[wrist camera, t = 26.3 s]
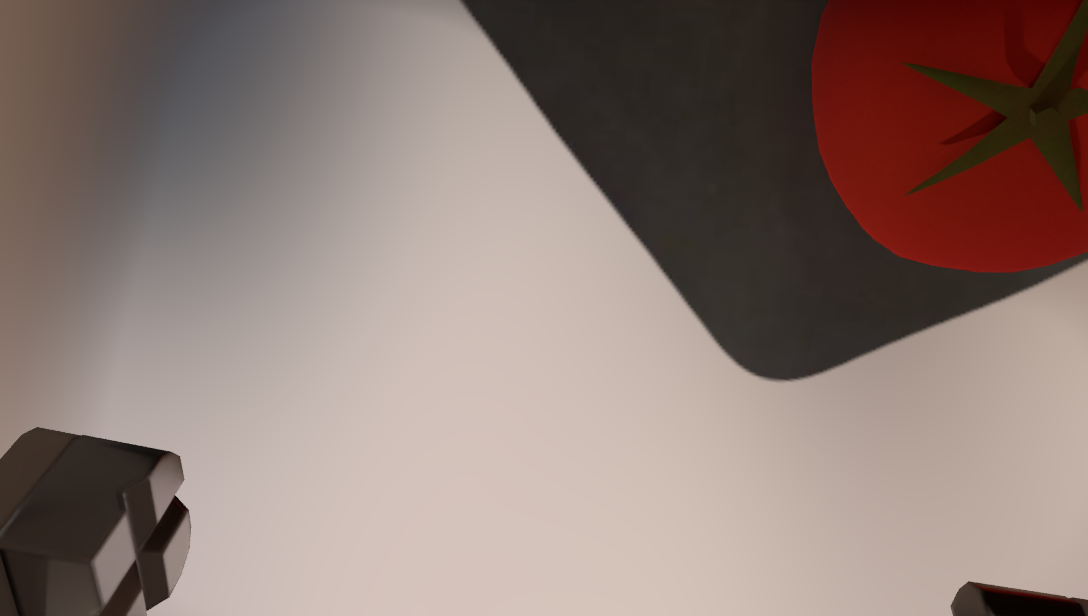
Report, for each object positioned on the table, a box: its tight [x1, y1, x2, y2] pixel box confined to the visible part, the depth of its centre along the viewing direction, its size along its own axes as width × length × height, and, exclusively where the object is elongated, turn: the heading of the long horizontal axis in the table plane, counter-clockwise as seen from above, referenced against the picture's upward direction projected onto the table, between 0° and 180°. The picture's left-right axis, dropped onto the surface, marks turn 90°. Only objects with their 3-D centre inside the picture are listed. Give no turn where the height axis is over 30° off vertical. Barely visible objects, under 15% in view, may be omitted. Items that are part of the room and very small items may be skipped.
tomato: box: [812, 0, 1088, 272], centre depth 32 cm, size 12×14×11 cm
